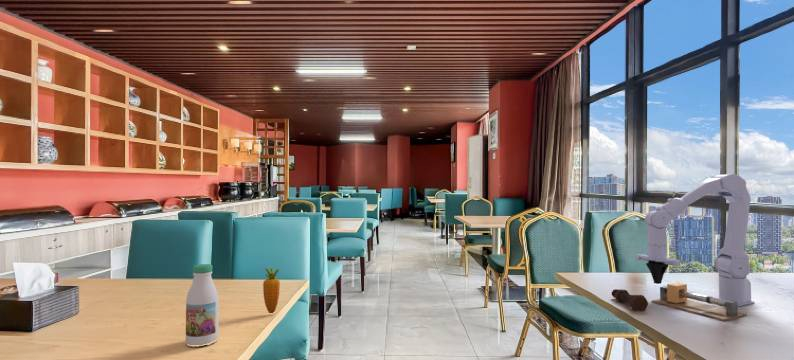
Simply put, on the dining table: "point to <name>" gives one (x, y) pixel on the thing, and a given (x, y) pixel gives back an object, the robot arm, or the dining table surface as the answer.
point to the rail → (705, 300)
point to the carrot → (271, 290)
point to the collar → (676, 292)
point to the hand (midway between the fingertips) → (657, 283)
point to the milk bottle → (202, 308)
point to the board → (700, 309)
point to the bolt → (631, 299)
